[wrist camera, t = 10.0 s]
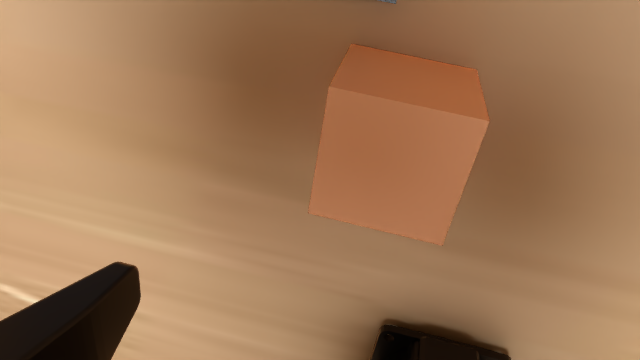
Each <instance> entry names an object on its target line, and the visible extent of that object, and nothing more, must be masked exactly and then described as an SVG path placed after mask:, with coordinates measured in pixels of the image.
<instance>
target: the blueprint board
mask: <svg viewBox="0 0 640 360" xmlns="http://www.w3.org/2000/svg"><path fill="white" fill-rule="evenodd" d="M379 1H384V2H389V3H394V4H396V1H397V0H379Z"/></svg>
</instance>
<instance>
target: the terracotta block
mask: <svg viewBox="0 0 640 360" xmlns="http://www.w3.org/2000/svg"><path fill="white" fill-rule="evenodd" d="M489 122H490V120H489V116H488V112H487V108H486V104H485V100H484V96H483V92H482V88H481V84H480V80H479V76H478V72H477V70H476V69H472V68H467V67H462V66H457V65H452V64H447V63H443V62H438V61H433V60H428V59H423V58H418V57H414V56H409V55H404V54H399V53H394V52H389V51H385V50H380V49H375V48H370V47H365V46H360V45H356V44H351V45H350V47H349V49H348V51H347V53H346V55H345V57H344V59H343V61H342V62H341V64H340V66H339V68H338V70H337V72H336V74H335V76H334V78H333V80H332V81H331V83H330V85H329V89H328V95H327V101H326V107H325V113H324V119H323V125H322V131H321V137H320V143H319V149H318V155H317V161H316V167H315V174H314V180H313V186H312V192H311V198H310V204H309V210H308V213H310V214H314V215H318V216H322V217H326V218H330V219H334V220H339V221H343V222H347V223H351V224H355V225H359V226H363V227H367V228H372V229H376V230H380V231H384V232H388V233H392V234H396V235H400V236H405V237H409V238H413V239H417V240H421V241H425V242H429V243H433V244H437V245H443V243H444V240H445V238H446V235H447V232H448V230H449V227H450V224H451V222H452V219H453V217H454V214H455V211H456V209H457V206H458V203H459V201H460V198H461V196H462V193H463V190H464V188H465V185H466V182H467V180H468V177H469V175H470V172H471V169H472V167H473V164H474V161H475V159H476V156H477V154H478V151H479V148H480V146H481V143H482V140H483V138H484V135H485V132H486V130H487V127H488V125H489Z"/></svg>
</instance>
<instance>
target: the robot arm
mask: <svg viewBox="0 0 640 360" xmlns="http://www.w3.org/2000/svg"><path fill="white" fill-rule="evenodd" d="M140 297H141V292H140V281H139V271H138V269H137V267H136V266H134V265H130V264H126V263H123V262H115V263H112V264H110V265H108V266H106V267H104V268H102V269H100V270H98V271H96V272H94V273H93V274H91V275H89V276H87V277H85V278H83V279H81V280H79V281H77V282H75V283H73V284H71V285H69V286H67V287H65V288H63V289H61V290H60V291H58V292H56V293H54V294H52V295H50V296H48V297H46V298H44V299H42V300H40V301H38V302H36V303H34V304H32V305H30V306H28V307H26V308H25V309H23V310H21V311H19V312H17V313H15V314H13V315H11V316H9V317H7V318H5V319H3V320H1V321H0V360H111V359H112V357H113V355H114V353H115V351H116V349H117V347H118V345H119V343H120V341H121V339H122V337H123V335H124V333H125V331H126V329H127V327H128V325H129V323H130V321H131V319H132V318H133V316H134V314H135V312H136V310H137V308H138V305H139V302H140ZM387 334H389V335H387ZM370 360H511V358H510V357H509V356H508V355H505V354H502V353H498V352H494V351H490V350H486V349H482V348H479V347H475V346H471V345H467V344H463V343H459V342H455V341H452V340H448V339H444V338H440V337H436V336H432V335H428V334H425V333H421V332H417V331H413V330H409V329H405V328H401V327H398V326H394V325H384V326H382V327H381V328H380V330H379V333H378V336H377V339H376V342H375V345H374V348H373V352H372V355H371V358H370Z"/></svg>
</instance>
